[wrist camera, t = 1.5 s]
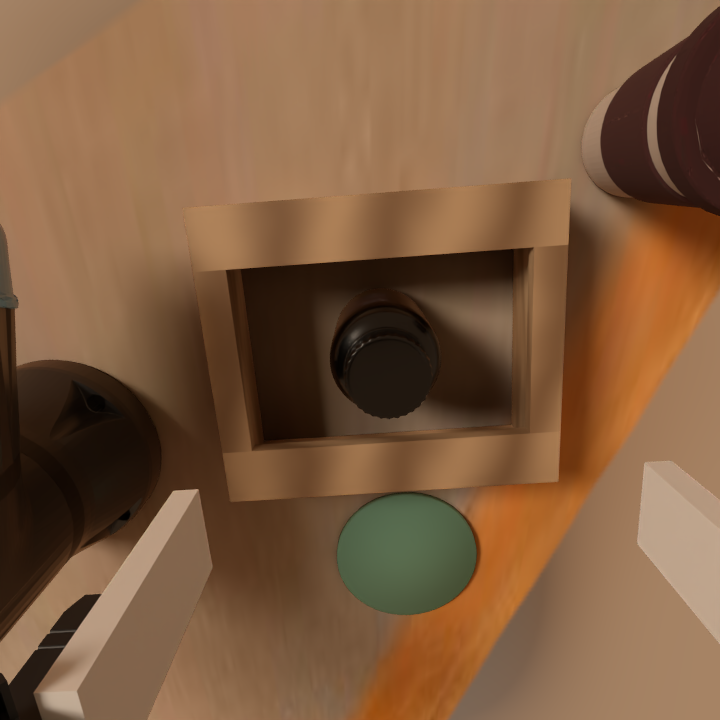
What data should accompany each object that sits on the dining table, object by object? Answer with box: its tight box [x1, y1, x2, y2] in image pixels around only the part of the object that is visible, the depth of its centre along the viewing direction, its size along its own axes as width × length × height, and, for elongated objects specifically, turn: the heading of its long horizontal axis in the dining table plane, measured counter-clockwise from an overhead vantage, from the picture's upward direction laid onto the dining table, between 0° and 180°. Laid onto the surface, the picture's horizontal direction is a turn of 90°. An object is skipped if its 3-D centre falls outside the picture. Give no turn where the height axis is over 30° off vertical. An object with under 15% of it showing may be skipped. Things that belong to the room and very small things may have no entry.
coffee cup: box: [581, 7, 720, 216], centre depth 28 cm, size 10×10×15 cm
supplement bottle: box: [330, 288, 441, 419], centre depth 33 cm, size 7×7×12 cm
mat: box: [337, 492, 477, 615], centre depth 44 cm, size 12×12×1 cm
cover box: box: [182, 178, 571, 502], centre depth 35 cm, size 22×19×7 cm
